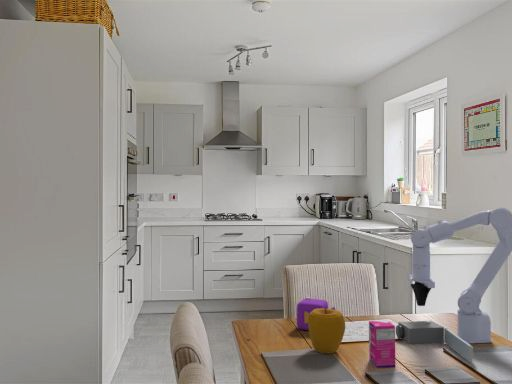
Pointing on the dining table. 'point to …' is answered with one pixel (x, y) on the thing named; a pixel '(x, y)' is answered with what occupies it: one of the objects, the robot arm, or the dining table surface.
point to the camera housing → (420, 332)
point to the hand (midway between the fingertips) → (421, 305)
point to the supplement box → (382, 344)
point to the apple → (326, 329)
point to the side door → (458, 344)
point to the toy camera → (308, 310)
